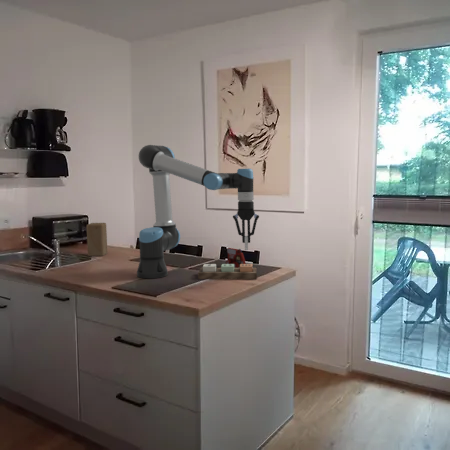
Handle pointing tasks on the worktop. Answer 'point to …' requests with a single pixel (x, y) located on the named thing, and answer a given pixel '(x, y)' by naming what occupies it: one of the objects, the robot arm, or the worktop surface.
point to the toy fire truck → (235, 257)
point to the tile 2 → (227, 268)
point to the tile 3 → (246, 268)
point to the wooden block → (97, 239)
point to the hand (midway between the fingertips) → (246, 249)
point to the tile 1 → (209, 268)
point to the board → (227, 274)
